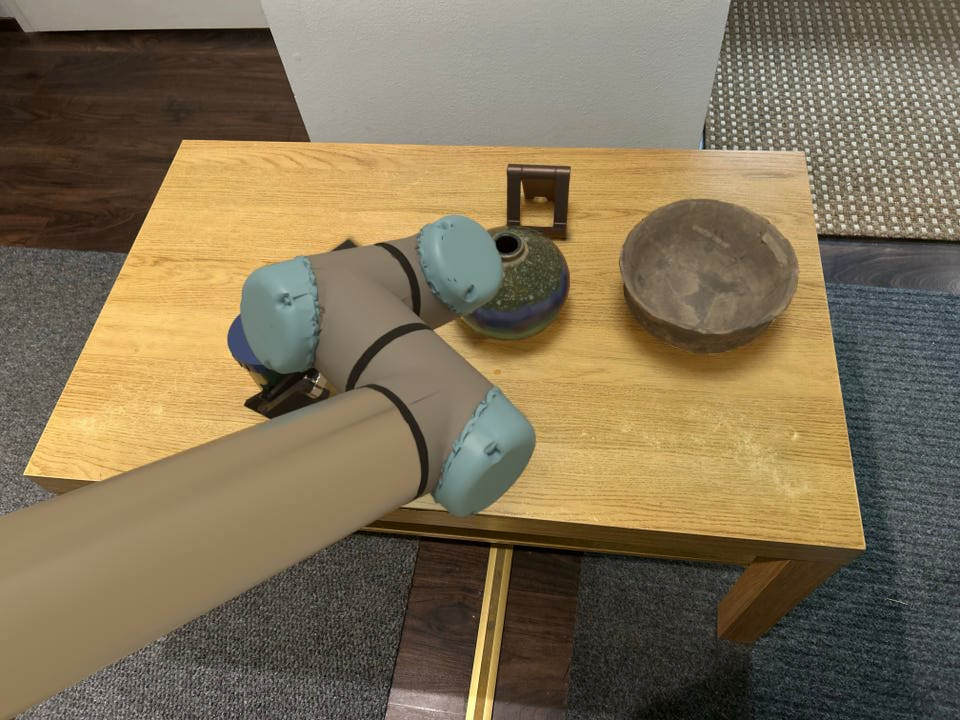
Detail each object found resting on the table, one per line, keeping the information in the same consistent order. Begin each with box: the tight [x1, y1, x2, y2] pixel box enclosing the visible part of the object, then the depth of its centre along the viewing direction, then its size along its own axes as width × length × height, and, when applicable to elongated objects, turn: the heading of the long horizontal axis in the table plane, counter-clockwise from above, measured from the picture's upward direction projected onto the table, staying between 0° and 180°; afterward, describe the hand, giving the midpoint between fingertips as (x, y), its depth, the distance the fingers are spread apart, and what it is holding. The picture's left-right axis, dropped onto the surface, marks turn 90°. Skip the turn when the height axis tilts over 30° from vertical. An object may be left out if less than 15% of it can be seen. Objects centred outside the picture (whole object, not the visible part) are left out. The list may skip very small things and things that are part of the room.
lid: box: [226, 313, 276, 374], centre depth 71 cm, size 8×8×2 cm
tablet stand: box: [504, 163, 572, 239], centre depth 97 cm, size 9×8×8 cm
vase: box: [460, 225, 571, 342], centre depth 87 cm, size 15×15×13 cm
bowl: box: [618, 197, 800, 356], centre depth 86 cm, size 21×21×10 cm
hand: (269, 377), depth 80 cm, fingers closed on jar, 8 cm apart
